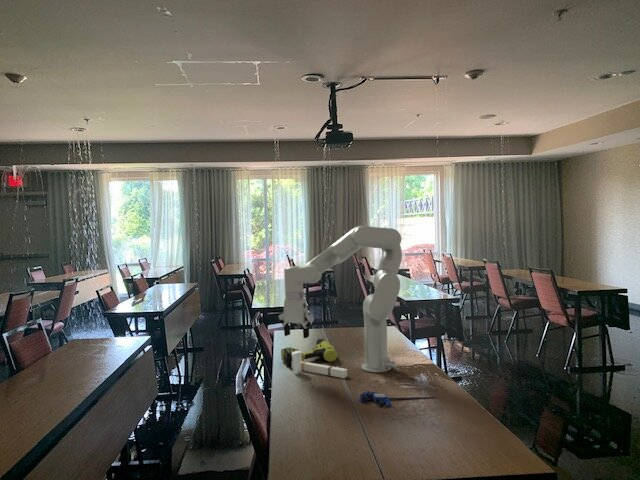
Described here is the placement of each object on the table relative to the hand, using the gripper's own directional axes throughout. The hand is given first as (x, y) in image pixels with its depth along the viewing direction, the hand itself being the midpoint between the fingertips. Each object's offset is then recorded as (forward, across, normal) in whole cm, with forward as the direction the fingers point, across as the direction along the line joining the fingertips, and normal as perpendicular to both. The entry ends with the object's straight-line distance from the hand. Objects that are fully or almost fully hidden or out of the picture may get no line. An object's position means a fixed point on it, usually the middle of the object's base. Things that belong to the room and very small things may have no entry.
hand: (296, 336), depth 185 cm
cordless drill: (+16, +9, -20) cm, 27 cm away
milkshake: (+16, +1, 0) cm, 16 cm away
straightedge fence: (+16, -7, -4) cm, 18 cm away
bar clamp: (+17, -50, +6) cm, 53 cm away
